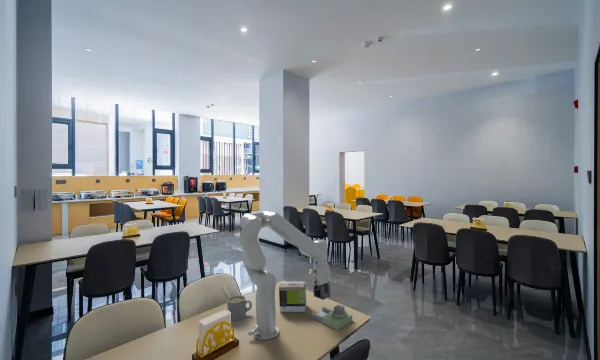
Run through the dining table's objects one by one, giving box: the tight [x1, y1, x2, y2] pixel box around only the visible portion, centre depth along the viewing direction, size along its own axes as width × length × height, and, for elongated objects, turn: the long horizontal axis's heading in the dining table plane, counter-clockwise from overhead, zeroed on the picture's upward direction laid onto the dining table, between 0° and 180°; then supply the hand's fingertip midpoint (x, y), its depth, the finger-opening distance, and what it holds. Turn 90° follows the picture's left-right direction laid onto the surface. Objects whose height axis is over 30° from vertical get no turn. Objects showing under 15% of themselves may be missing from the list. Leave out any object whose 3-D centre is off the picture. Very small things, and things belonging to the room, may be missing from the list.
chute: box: [313, 282, 331, 301], centre depth 156 cm, size 6×7×7 cm
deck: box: [310, 304, 353, 331], centre depth 152 cm, size 13×18×8 cm
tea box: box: [278, 280, 307, 313], centre depth 166 cm, size 15×10×15 cm, turn 84°
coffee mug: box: [226, 294, 253, 322], centre depth 158 cm, size 13×10×10 cm
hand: (321, 294), depth 156 cm, fingers closed on chute, 6 cm apart
